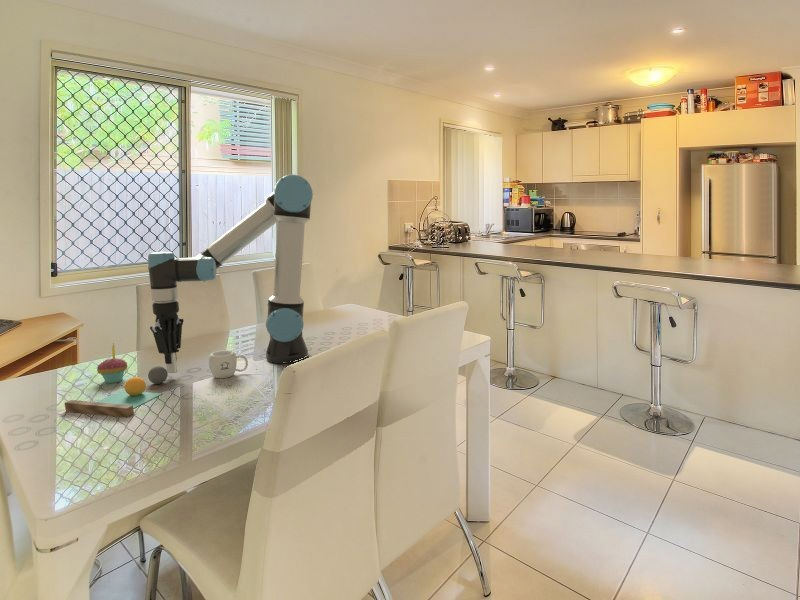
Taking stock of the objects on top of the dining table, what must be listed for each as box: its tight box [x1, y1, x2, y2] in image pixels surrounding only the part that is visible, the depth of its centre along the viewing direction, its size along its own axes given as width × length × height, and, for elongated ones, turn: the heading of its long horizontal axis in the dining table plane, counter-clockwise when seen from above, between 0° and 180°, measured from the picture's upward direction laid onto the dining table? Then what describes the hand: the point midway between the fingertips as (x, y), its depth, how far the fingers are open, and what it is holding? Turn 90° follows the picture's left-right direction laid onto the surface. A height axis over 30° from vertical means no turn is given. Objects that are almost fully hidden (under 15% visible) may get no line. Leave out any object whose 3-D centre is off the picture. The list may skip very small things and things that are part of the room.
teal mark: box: [96, 389, 163, 410], centre depth 137 cm, size 14×14×1 cm
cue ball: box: [147, 365, 169, 385], centre depth 151 cm, size 6×6×6 cm
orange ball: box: [124, 376, 147, 396], centre depth 141 cm, size 6×6×6 cm
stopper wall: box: [64, 399, 135, 418], centre depth 129 cm, size 20×2×2 cm, turn 77°
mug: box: [208, 349, 249, 379], centre depth 158 cm, size 12×8×8 cm
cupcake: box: [96, 342, 128, 384], centre depth 154 cm, size 9×8×12 cm
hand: (172, 372), depth 157 cm, fingers closed
